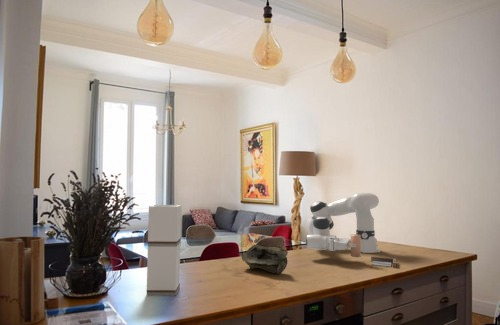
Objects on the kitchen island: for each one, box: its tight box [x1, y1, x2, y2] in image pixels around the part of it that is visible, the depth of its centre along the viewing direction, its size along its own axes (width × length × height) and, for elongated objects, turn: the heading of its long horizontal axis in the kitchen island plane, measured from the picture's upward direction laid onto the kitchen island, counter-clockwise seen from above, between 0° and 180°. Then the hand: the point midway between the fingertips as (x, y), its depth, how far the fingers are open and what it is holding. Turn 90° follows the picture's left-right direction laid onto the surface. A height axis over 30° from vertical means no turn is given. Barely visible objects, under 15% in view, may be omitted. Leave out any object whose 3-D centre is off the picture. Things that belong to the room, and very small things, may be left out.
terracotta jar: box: [350, 233, 362, 258], centre depth 213 cm, size 6×6×12 cm
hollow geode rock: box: [241, 243, 289, 275], centre depth 191 cm, size 28×13×15 cm
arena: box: [370, 256, 397, 269], centre depth 210 cm, size 14×14×2 cm
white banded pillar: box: [146, 204, 182, 297], centre depth 153 cm, size 11×11×35 cm
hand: (357, 244), depth 212 cm, fingers closed on terracotta jar, 5 cm apart
